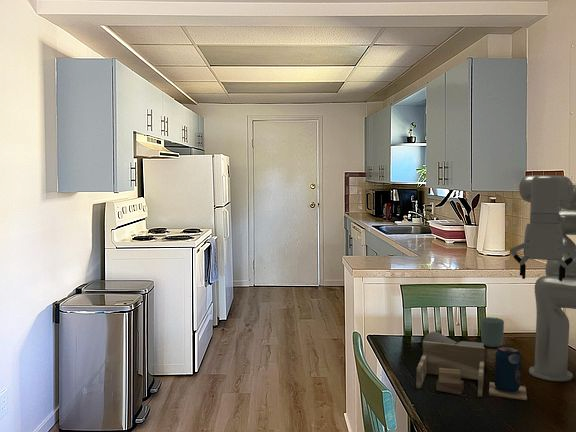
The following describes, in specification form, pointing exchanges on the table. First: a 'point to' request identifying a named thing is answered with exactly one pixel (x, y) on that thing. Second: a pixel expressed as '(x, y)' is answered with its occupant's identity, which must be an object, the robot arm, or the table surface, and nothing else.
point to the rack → (452, 361)
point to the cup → (492, 331)
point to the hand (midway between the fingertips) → (541, 279)
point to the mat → (517, 395)
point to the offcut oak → (449, 376)
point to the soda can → (507, 369)
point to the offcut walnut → (450, 387)
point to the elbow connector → (447, 340)
